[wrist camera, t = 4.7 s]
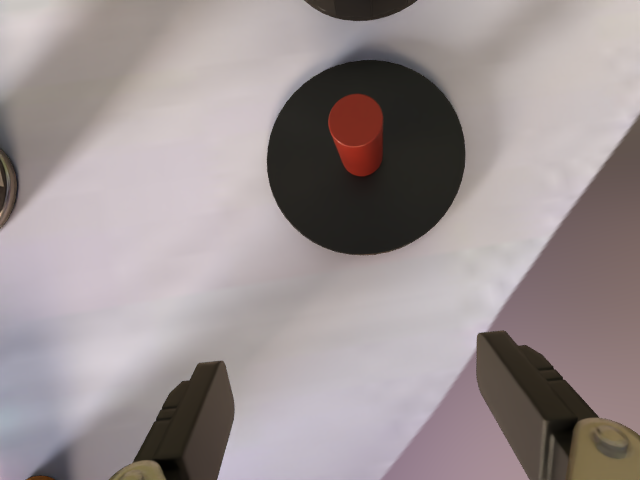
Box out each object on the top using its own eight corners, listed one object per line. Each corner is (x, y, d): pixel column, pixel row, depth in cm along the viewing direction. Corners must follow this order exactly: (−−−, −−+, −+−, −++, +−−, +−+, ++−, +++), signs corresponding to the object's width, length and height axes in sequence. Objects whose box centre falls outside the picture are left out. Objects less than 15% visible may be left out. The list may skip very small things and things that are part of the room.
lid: (344, 293, 29) (329, 308, 20) (236, 147, 31) (181, 105, 22) (504, 174, 28) (560, 136, 19) (380, 29, 30) (380, -64, 21)
